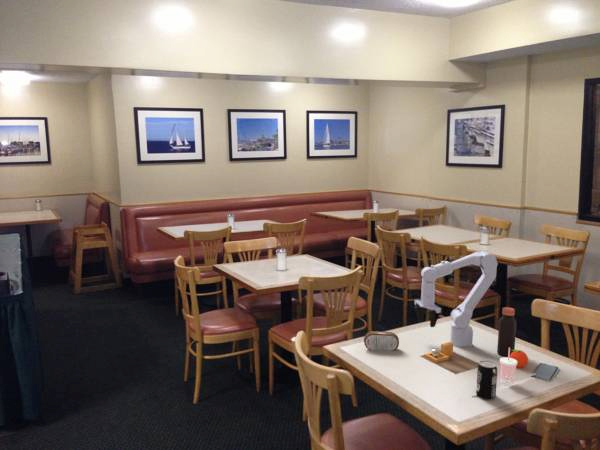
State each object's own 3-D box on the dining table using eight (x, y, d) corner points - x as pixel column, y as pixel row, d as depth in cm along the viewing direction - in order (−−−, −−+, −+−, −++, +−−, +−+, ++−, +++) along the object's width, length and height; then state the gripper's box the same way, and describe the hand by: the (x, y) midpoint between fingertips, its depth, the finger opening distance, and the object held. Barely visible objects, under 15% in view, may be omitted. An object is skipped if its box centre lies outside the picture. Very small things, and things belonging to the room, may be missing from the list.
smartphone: (529, 376, 201) (539, 362, 213) (529, 378, 201) (539, 364, 213) (550, 381, 197) (559, 367, 208) (550, 383, 197) (559, 369, 209)
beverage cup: (514, 388, 191) (516, 352, 189) (496, 384, 194) (499, 348, 192) (517, 382, 196) (519, 346, 194) (500, 378, 200) (502, 343, 197)
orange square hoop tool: (444, 351, 224) (445, 340, 223) (457, 357, 218) (457, 345, 217) (424, 356, 218) (424, 345, 217) (436, 362, 212) (437, 350, 211)
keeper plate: (447, 350, 226) (447, 348, 226) (484, 367, 209) (484, 365, 209) (419, 357, 218) (419, 356, 218) (455, 375, 201) (455, 373, 201)
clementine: (503, 366, 210) (504, 349, 209) (510, 361, 215) (511, 345, 214) (523, 372, 205) (525, 355, 204) (530, 367, 210) (531, 350, 209)
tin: (398, 350, 227) (399, 331, 226) (399, 353, 224) (399, 334, 222) (363, 348, 228) (364, 330, 227) (363, 351, 225) (364, 332, 224)
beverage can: (473, 391, 188) (474, 360, 187) (490, 391, 189) (492, 359, 187) (480, 400, 182) (482, 367, 180) (499, 400, 182) (501, 367, 181)
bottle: (496, 355, 221) (499, 310, 218) (497, 350, 227) (500, 305, 224) (514, 358, 219) (517, 312, 216) (514, 352, 225) (517, 307, 222)
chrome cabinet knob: (435, 356, 218) (435, 347, 218) (441, 359, 215) (441, 350, 215) (429, 357, 217) (429, 348, 216) (435, 360, 214) (435, 351, 213)
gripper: (409, 291, 234) (408, 320, 236) (433, 299, 222) (431, 330, 224) (421, 289, 238) (420, 318, 240) (445, 297, 225) (443, 327, 227)
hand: (426, 324), depth 232 cm, fingers open, 7 cm apart
